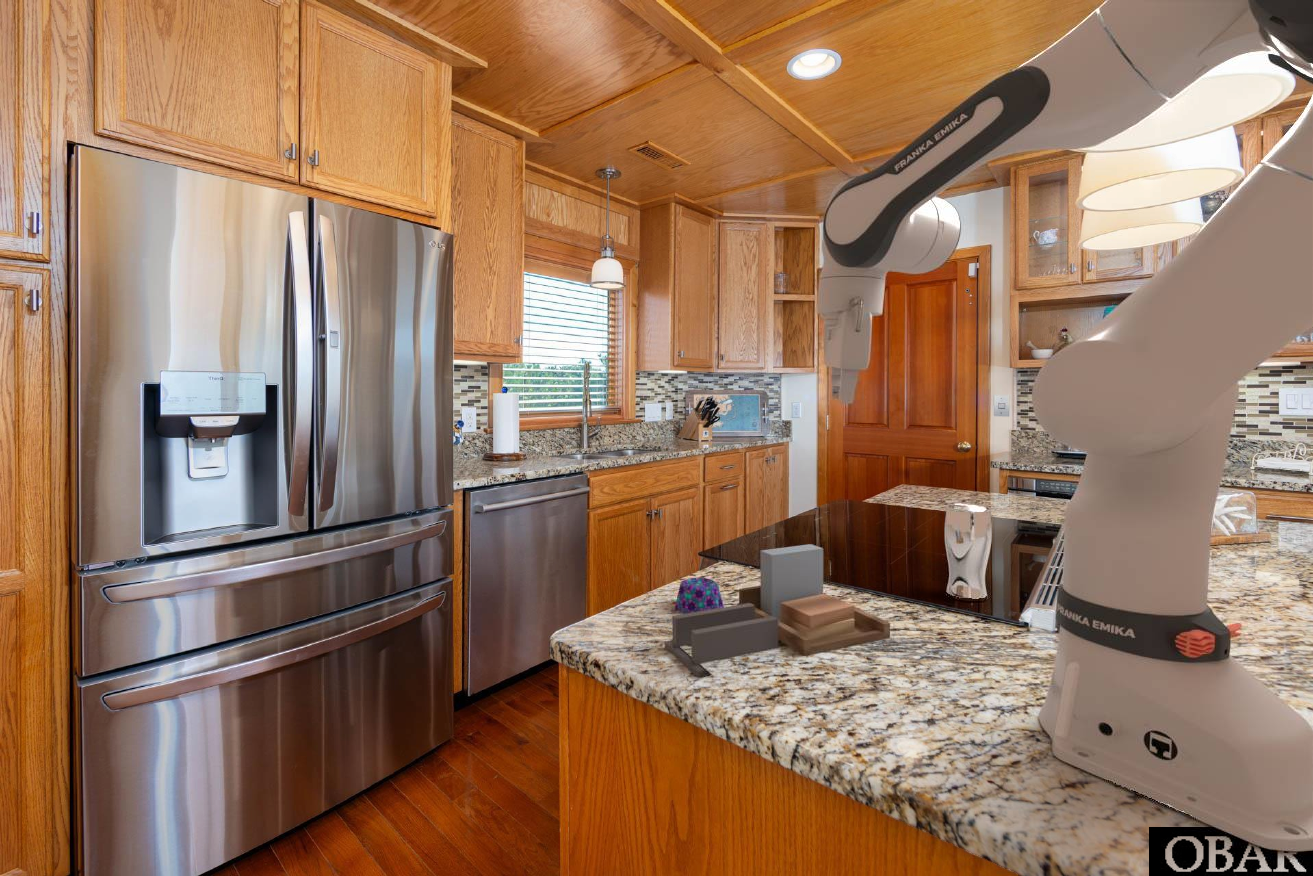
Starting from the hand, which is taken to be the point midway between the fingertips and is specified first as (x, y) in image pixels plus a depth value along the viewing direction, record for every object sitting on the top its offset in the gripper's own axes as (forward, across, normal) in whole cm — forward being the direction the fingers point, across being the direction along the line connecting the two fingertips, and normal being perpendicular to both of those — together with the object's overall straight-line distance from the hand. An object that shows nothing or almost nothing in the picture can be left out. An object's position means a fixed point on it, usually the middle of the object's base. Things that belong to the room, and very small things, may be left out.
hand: (841, 400), depth 89 cm
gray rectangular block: (+32, -1, +5) cm, 33 cm away
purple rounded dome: (+35, +1, +18) cm, 40 cm away
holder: (+33, -14, +14) cm, 38 cm away
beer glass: (+32, +14, -25) cm, 43 cm away
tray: (+33, -5, +2) cm, 33 cm away
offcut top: (+30, -6, +2) cm, 31 cm away
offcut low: (+32, -6, +1) cm, 32 cm away
